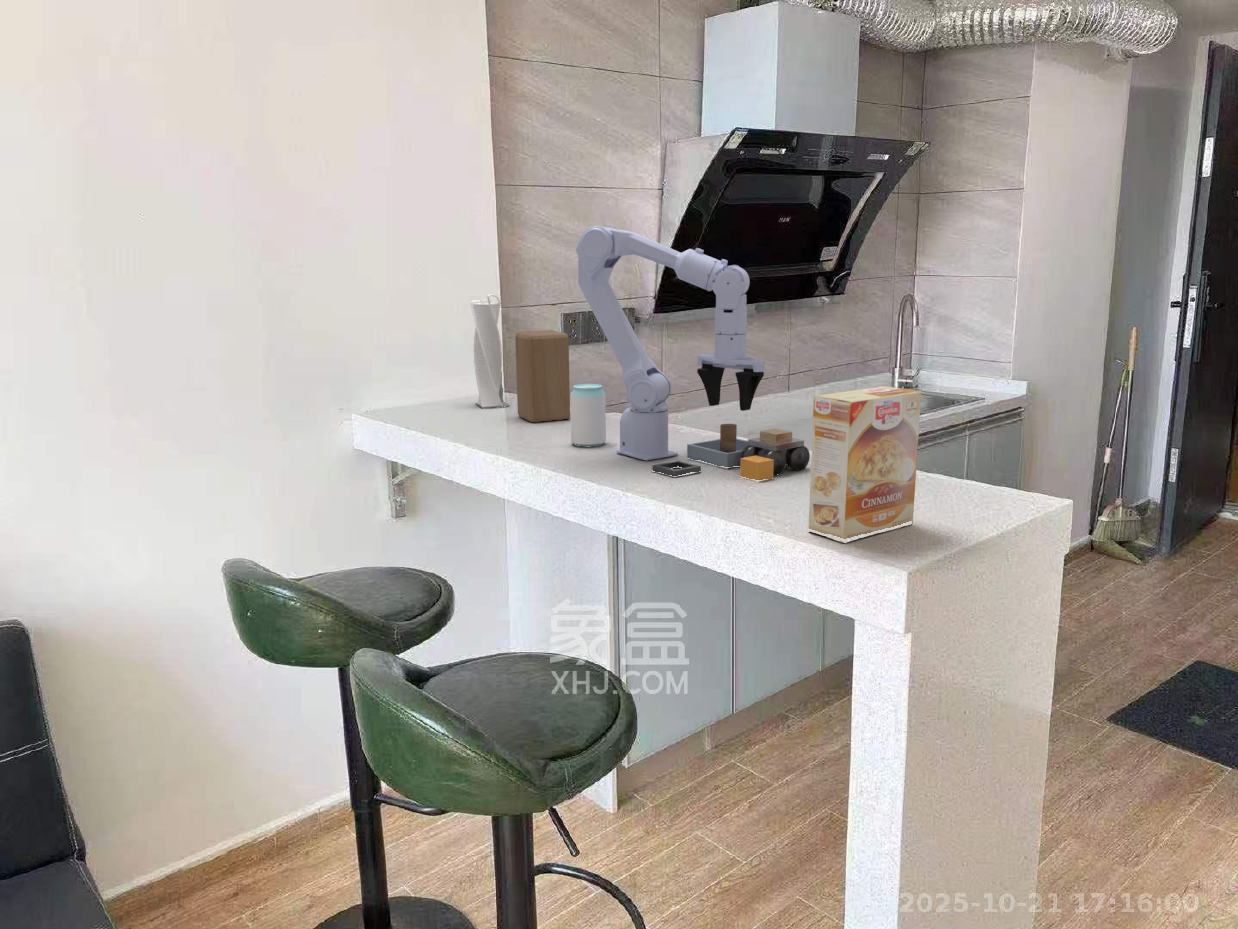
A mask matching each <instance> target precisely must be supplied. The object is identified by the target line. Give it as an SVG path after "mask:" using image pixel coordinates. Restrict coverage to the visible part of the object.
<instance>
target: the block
mask: <svg viewBox="0 0 1238 929" xmlns="http://www.w3.org/2000/svg"><path fill="white" fill-rule="evenodd" d="M569 338H570V337H569V335H568V333H566V332H562V331H558V330H553V329H552V330H551V329H550V330H548V329H547V330H530V331H525V330H524V331H518V332H516V333H515V337H514V340H515V341H514V342H515V343H514V344H515V365H516V366H515V370H516V397H517V398H516V402H517V405H516V406H517V414H518V417H520V418H521V419H523V420H526V421H527V422H531V423H533V422H536V423H542V422H541V421H547V422H553V421H552V420H558V421H564V420H563V419H567V420H568V419H571V407H570V394H571V390H570V384H571V383H570V350H569V349H570V347H569V346H570V345H569V342H570V341H569Z"/></svg>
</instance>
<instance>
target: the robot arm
mask: <svg viewBox="0 0 1238 929" xmlns="http://www.w3.org/2000/svg"><path fill="white" fill-rule="evenodd" d="M704 251H705V250H704V249H701V248H699V247H698V248H697V247H696V248H695V249H692V248H688V249H687V250H684V251H682V252H680V251H678V250H676V249H673V248H671V247H669V246H666V245H664V244H662V243H660V242H657V241H655V240H654V239H650V238H648V237H646V236H644V235H642V234H640V233H637V232H634V231H630V230H624V229H619V228H617V227H615V226H605V227H604V226H599V225H594V226H593V225H592V226H590V227H588V228H586V229H585V230H584V231H583V232H582V234H581V236H580V238H579V241H578V243H577V245H576V248H575V252H576V255H577V258H578V259H577V260H578V262H577V263H578V264H577V265H578V266H577V268H578V270H577V272H578V274H577V275H578V276H577V277H578V279H577V280H578V283H577V284H578V286H579V288H580V290H581V292H582V294H583V295H584V298H585V299H586V302H587V304H588V306H589V307H590V309H591V310H592V313H593V315H594V316H595V318H596V321H597V322H598V325H599V326H600V328H601V330H602V332H603V334H604V336H605V338H606V341H608V343H609V346H610V347H611V349H612V350H613V353H614V355H615V356H616V358H617V360H618V363H619V364H620V366H621V368H622V380H623V383H624V385H625V387H626V398H627V401H628V403H629V404H630V406H629V407H628V408H627V407H626V409H625V410H624V411H623V412H622V414H621V416H620V420H619V446H620V447H619V449H617V450H616V453H617V454H620V455H624V456H628V457H631V458H635V459H639V460H641V461H642V460H643V461H651V460H657V459H662V458H668V457H675V456H678V455H679V453H678V452H677V451H672V450H669V405H668V404H667V402H666V400H668V398H669V397H670V395H671V393H672V384H671V381H670V379H669V377H668V376H667V375H666V374H665V373H664V372H662V371H660V369H659V368H658V366H657V365H656V363H655V361H653V360H652V358H650V357H649V356H648V355H647V353H646V351H645V350H644V347H643V346H642V344H641V342H640V340H639V339H638V336H637V334H636V332H635V330H634V329H633V327H632V325H631V323H630V321H629V319H628V317H627V315H626V314H625V312H624V309H623V307H622V305H621V303H620V301H619V300H618V298H617V296H616V294H615V292H614V291H613V288H612V287H611V284H610V282H609V280H610V277H611V276H612V272H613V269H614V267H615V265H616V264H617V263H618V262H619V261H620V259H621V258H622V256H633V255H635V256H638V257H641V258H644V259H646V260H649V261H652V262H654V263H657V264H659V265H661V266H665V267H668V268H670V269H673V270H674V272H675V274H676V277H677V278H678V279H679V280H681V281H684V282H686V283H689V284H691V285H693V286H696V287H697V288H700V289H703V290H706V291H707V292H712V291H713V293H714V294H715V308H714V309H715V310H714V354H706V353H705V354H698V355H697V366H700V368H697V369H696V370H697V374H698V376H699V378H700V380H701V382H702V383H703V387H704V390H705V393H706V397H707V401H708V406H711V407H713V406H719V405H720V403H721V402H720V401H721V389H722V388H721V386H722V381H723V376H724V372H725V369H732V370H740V371H737V372H735V378H736V381H737V386H738V393H739V394H738V396H739V398H738V400H739V409H740V410H739V411H741V412H742V411H749V410H751V407H752V404H753V401H754V397H755V394H756V391H757V390H758V386H759V385H760V382H762V379H763V377H764V376H765V373H764V372H765V364H766V363H765V360H763V359H755V358H751V357H747V332H748V331H747V328H748V326H747V322H748V321H747V320H748V308H747V300H748V299H747V294H746V293H747V292H748V290H749V287H750V284H751V283H750V281H751V280H750V276H749V274H748V272H747V271H746V270H745V269H744V268H742V267H740V266H739V265H738V264H732V265H728V262H729V261H728V260H727V259H724V258H721V260H719V259H717V258H714V257H712V256H709V255H707V254H704ZM741 370H742V371H741Z"/></svg>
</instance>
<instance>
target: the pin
mask: <svg viewBox="0 0 1238 929" xmlns="http://www.w3.org/2000/svg"><path fill="white" fill-rule="evenodd" d="M719 428H720V433H719V434H720V435H719V437H720V438H719V439H720V451H721V452H726V453H730V452H736V438H737V437H738V436H737V429H738V427H737V424H736V423H722V424H720V427H719Z"/></svg>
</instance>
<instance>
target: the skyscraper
mask: <svg viewBox="0 0 1238 929" xmlns="http://www.w3.org/2000/svg"><path fill="white" fill-rule="evenodd" d="M486 297H487V298H486V299H474V300H471V302H470V306H471V307H470V308H471V311H472V315H473V319H474V320H473V321H474V324H475V328H474V329H475V330H474V338H473V361H474V362H473V363H474V373H475V378H476V384H477V390H478V391H477V392H478V395H479V396H478V399H477V402H476V403H475V405H476V406H477V405H479V406H480V407H481V408H480V407H479V406H478V407H479V408H480V409H482V408H489V409H491V408H490V407H502V406H511V405H510V404H508V403H506V402H505V401H504V388H503V382H502V381H503V371H502V367H503V361H502V360H503V357H502V356H503V354H502V343H501V336H500V332H499V328H498V321H499V317H500V316H499V315H500V308H501V301H500V298H499V297H498V295H496V294H494V293H489V294H488V295H487V296H486ZM490 297H495V298H496V299H497V300H496V301H498V302H493V301H492V299H490ZM502 408H503V407H502Z"/></svg>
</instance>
